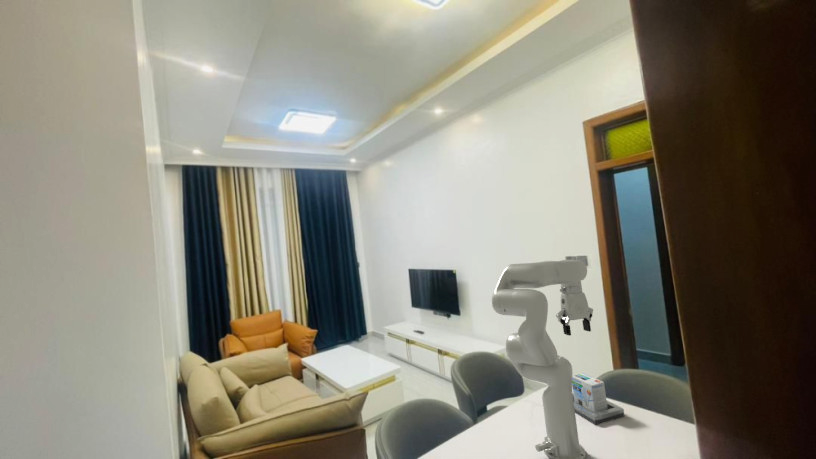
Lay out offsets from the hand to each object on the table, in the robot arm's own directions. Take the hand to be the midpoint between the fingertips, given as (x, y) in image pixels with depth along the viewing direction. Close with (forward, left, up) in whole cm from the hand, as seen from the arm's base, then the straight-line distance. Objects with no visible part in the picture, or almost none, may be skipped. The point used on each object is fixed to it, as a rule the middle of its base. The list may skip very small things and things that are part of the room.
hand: (577, 332), depth 126 cm
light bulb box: (+4, +3, -31) cm, 31 cm away
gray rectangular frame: (+4, +3, -32) cm, 33 cm away
